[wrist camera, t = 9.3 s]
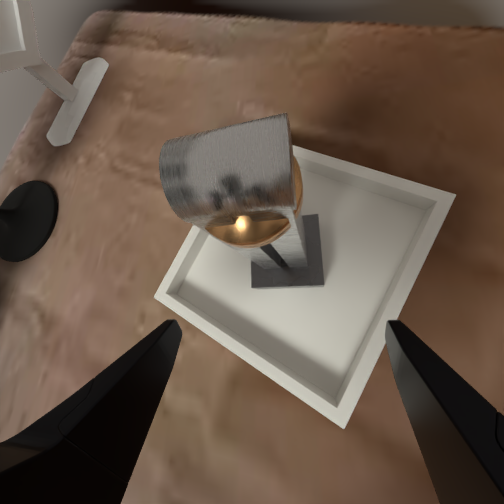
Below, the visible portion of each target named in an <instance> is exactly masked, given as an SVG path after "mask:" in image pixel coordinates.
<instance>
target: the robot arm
mask: <svg viewBox="0 0 504 504" xmlns="http://www.w3.org/2000/svg"><path fill="white" fill-rule="evenodd" d="M181 338H182V330H181V328H180V326H179V324H178V322H177V321H176V320H174V319H169V320H166V321H165V322H163V323H162V324H161V325H160V326H158V327H157V328H156V329H155V330H153V331H152V332H151V333H150V334H148V335H147V336H146V337H145V338H143V339H142V340H141V341H140V342H138V343H137V344H136V345H135V346H133V347H132V348H131V349H130V350H128V351H127V352H126V353H125V354H123V355H122V356H121V357H120V358H118V359H117V360H116V361H115V362H113V363H112V364H111V365H109V366H108V367H107V368H106V369H104V370H103V371H102V372H101V373H99V374H98V375H97V376H96V377H95V378H93V379H92V380H91V381H89V382H88V383H87V384H86V385H84V386H83V387H82V388H81V389H79V390H78V391H77V392H75V393H74V394H73V395H71V396H70V397H69V398H67V399H66V400H65V401H63V402H62V403H61V404H59V405H58V406H56V407H55V408H54V409H52V410H51V411H49V412H48V413H47V414H45V415H44V416H42V417H41V418H40V419H38V420H37V421H35V422H34V423H33V424H31V425H30V426H29V427H27V428H26V429H24V430H23V431H21V432H20V433H18V434H17V435H15V436H13V437H12V438H10V439H8V440H6V441H3V442H1V443H0V504H121V501H122V499H123V496H124V493H125V491H126V488H127V486H128V482H129V480H130V478H131V475H132V472H133V470H134V467H135V465H136V462H137V460H138V457H139V454H140V452H141V449H142V447H143V444H144V441H145V439H146V436H147V434H148V431H149V428H150V426H151V423H152V421H153V418H154V416H155V413H156V410H157V408H158V405H159V403H160V400H161V397H162V395H163V392H164V390H165V387H166V384H167V382H168V379H169V377H170V374H171V371H172V369H173V366H174V362H175V359H176V355H177V352H178V348H179V345H180V341H181ZM385 341H386V345H387V349H388V353H389V357H390V361H391V365H392V370H393V374H394V377H395V381H396V384H397V387H398V390H399V393H400V395H401V398H402V401H403V404H404V406H405V409H406V412H407V415H408V417H409V420H410V423H411V425H412V428H413V431H414V434H415V436H416V439H417V442H418V444H419V447H420V450H421V453H422V455H423V458H424V461H425V464H426V466H427V469H428V472H429V474H430V477H431V480H432V483H433V485H434V488H435V491H436V494H437V496H438V499H439V502H440V504H504V416H503V415H502V414H501V413H500V412H497V410H496V408H494V407H493V406H492V405H491V404H490V403H489V402H488V401H487V400H486V399H485V398H484V397H483V396H481V395H480V394H479V393H478V392H477V391H476V390H475V389H474V388H473V387H472V386H471V385H470V384H468V383H467V382H466V381H465V380H464V379H463V378H462V377H461V376H460V375H459V374H458V373H457V372H455V371H454V370H453V369H452V368H451V367H450V366H449V365H448V364H447V363H446V362H445V361H444V360H442V359H441V358H440V357H439V356H438V355H437V354H436V353H435V352H434V351H433V350H432V349H431V348H429V347H428V346H427V345H426V344H425V343H424V342H423V341H422V340H421V339H420V338H419V337H418V336H416V335H415V334H414V333H413V332H412V331H411V330H410V329H409V328H408V327H407V326H406V325H405V324H403V323H402V322H401V321H400V320H388V321H387V322H386V329H385Z"/></svg>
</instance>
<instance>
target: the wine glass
mask: <svg viewBox="0 0 504 504" xmlns="http://www.w3.org/2000/svg"><path fill="white" fill-rule="evenodd" d="M57 209H58V207H57V199H56V195H55V193H54V191H53V190H52V188H51V187H50V186H49V185H47V184H45V183H43V182H40V181H30V182H26V183H24V184H22V185H20V186H18V187H17V188H16V189H14V190H13V191H12V192H11V193H10V194H9V195H8V196H7V197H6V199H5V200H4V201H3V203H2V205H1V206H0V257H1V258H2V259H4V260H6V261H11V262H19V261H23V260H25V259H27V258H29V257H31V256H32V255H34V254H35V253H36V252H37V251H39V249H40V248H41V247H42V246H43V245H44V244H45V242H46V241H47V239H48V238H49V236H50V234H51V232H52V230H53V228H54V225H55V222H56V217H57Z"/></svg>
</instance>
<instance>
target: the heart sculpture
mask: <svg viewBox="0 0 504 504" xmlns="http://www.w3.org/2000/svg"><path fill="white" fill-rule="evenodd" d="M108 66H109V64H108V63H107V62H106V61H105V60H104V59H102V58H100V57H98V58H94V59H91V60H89V61H87V62H84V63H83V65H82V67H81V69H80V71H79V73H78V75H77V77H76V79H75V81H74V83H73V85H71V84H70V83H69V82H68V81H67V80H66V79H65V78H63V77H62V76H61V75H60V74H59V73H58V72H57V71H55V70H54V69H53V68H52V67H51V66H50V65H49V64H48V63H46V62H45V61H44V60H43V59H42V58H41V56H40V52H39V47H38V41H37V35H36V28H35V21H34V15H33V9H32V6H31V2H30V0H0V73H1V72H6V71H10V70H14V69H18V68H22V67H23V68H24V69H26V70H27V71H28V72H29V73H30V74H32V75H33V76H34V77H35V78H37V79H38V80H39V81H40V82H42V83H43V84H44V85H45V86H47V87H48V88H49V89H50V90H52V91H53V92H54V93H55V94H57V95H58V96H59V97H60V98H62V99H63V100H64V102H63V104H62V106H61V108H60V110H59V112H58V114H57V116H56V118H55V120H54V122H53V124H52V126H51V127H50V129H49V131H48V133H47V135H46V137H47V139H48V140H49V142H50V143H51V144H52V145H53V146H61V145H65V144H67V143H70V142H71V140H72V138H73V136H74V134H75V132H76V130H77V128H78V126H79V124H80V122H81V120H82V118H83V116H84V114H85V112H86V110H87V108H88V106H89V104H90V102H91V100H92V98H93V96H94V94H95V92H96V90H97V88H98V86H99V84H100V82H101V80H102V78H103V76H104V74H105V72H106V70H107V68H108Z"/></svg>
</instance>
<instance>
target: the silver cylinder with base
mask: <svg viewBox="0 0 504 504" xmlns="http://www.w3.org/2000/svg"><path fill="white" fill-rule="evenodd" d="M159 170H160V178H161V183H162V186H163V190H164V193H165V195H166V198H167V200H168V202H169V204H170V206H171V208H172V209H173V211H174V212H175V213H176V214H177V216H178V217H179V218H181V219H182V220H183V221H185V222H189V223H192V224H193V225H195V226H197V227H198V228H200V229H201V230H203V231H205V232H206V233H208V234H209V235H211V236H213V237H214V238H216V239H217V240H219V241H221V242H222V243H224V244H225V245H227V246H229V247H230V248H232V249H233V250H235V251H236V252H238V253H240V254H241V255H243V256H244V257H246V258H248V259H249V260H251V288H254V289H283V288H310V287H324V274H323V263H322V251H321V240H320V228H319V217H318V214H312V215H303V216H302V213H301V207H302V203H303V183H302V176H301V170H300V167H299V164H298V162H297V160H296V158H295V157H294V155H293V146H292V138H291V130H290V124H289V118H288V114H287V113H283V114H278V115H274V116H269V117H265V118H261V119H256V120H252V121H248V122H243V123H239V124H235V125H230V126H226V127H221V128H217V129H213V130H208V131H204V132H200V133H195V134H191V135H186V136H182V137H178V138H173V139H169V140H167V141H166V142H165V143H164V145H163V146H162V149H161V152H160V158H159Z"/></svg>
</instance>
